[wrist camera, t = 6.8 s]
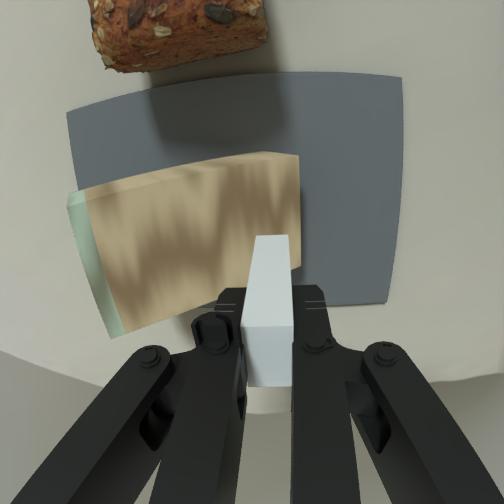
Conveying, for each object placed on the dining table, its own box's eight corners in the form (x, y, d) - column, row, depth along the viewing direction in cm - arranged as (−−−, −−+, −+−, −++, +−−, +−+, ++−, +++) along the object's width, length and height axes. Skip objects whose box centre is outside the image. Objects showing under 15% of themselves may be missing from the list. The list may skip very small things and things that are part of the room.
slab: (263, 151, 22) (68, 193, 16) (298, 155, 19) (66, 206, 12) (269, 248, 25) (101, 306, 19) (300, 265, 22) (110, 339, 16)
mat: (70, 112, 22) (66, 112, 21) (398, 78, 19) (401, 77, 18) (113, 301, 30) (110, 304, 30) (385, 298, 27) (386, 302, 27)
